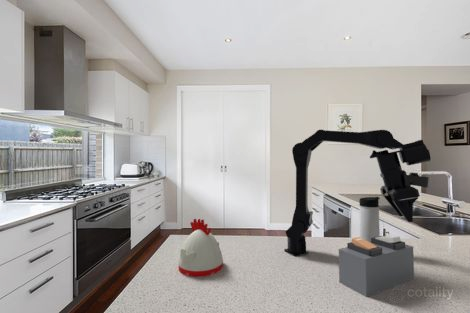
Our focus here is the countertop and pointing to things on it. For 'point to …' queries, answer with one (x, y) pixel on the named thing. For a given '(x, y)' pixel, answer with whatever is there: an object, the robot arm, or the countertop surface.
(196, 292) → the countertop surface
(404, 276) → the switch box
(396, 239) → the white rocker
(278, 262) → the countertop surface
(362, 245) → the orange rocker
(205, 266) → the kitchen timer
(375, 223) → the travel mug
